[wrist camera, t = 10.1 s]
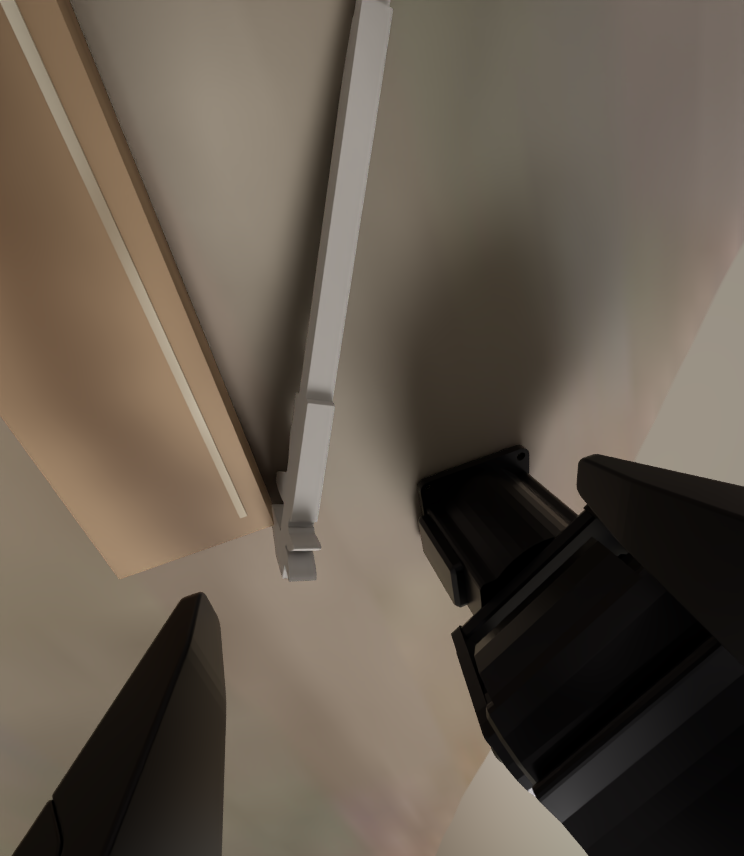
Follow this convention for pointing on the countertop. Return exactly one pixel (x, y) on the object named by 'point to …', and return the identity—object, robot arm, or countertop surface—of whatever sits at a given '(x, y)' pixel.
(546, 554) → the robot arm
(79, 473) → the walnut board
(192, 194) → the countertop surface
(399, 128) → the countertop surface
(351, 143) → the caliper
